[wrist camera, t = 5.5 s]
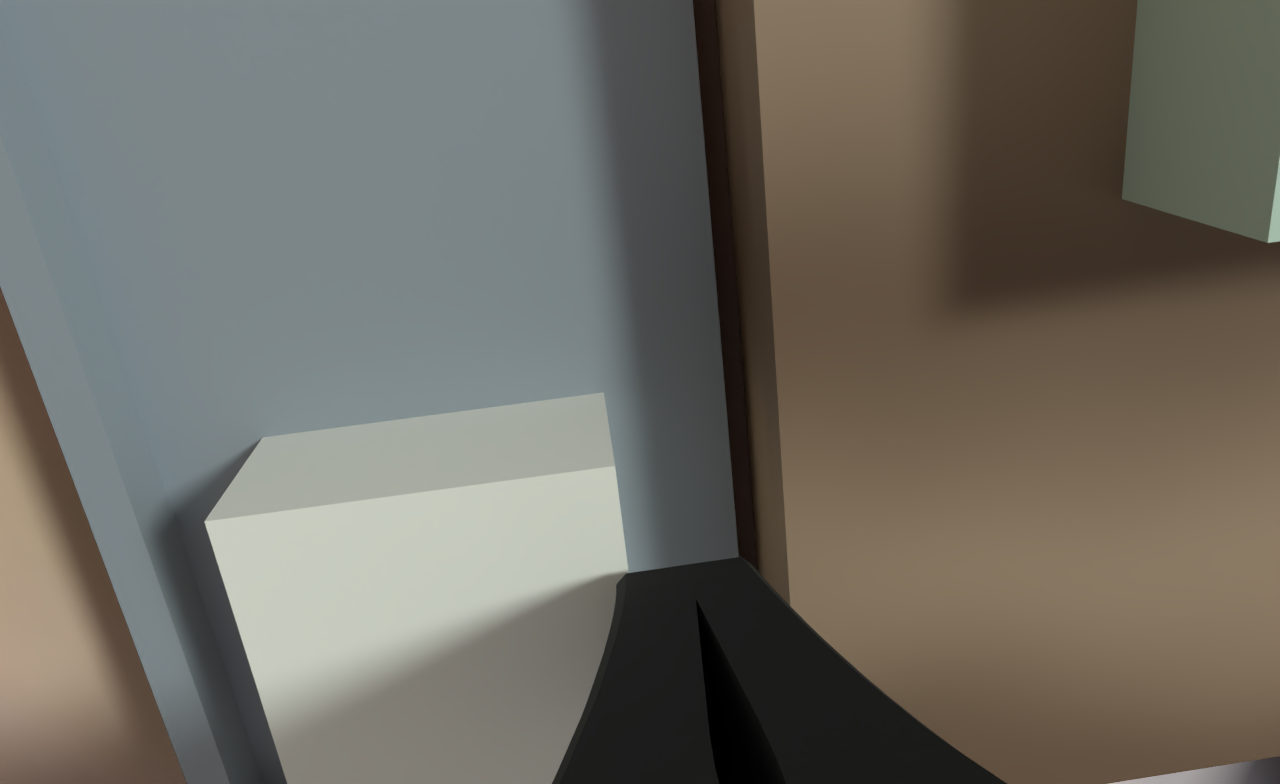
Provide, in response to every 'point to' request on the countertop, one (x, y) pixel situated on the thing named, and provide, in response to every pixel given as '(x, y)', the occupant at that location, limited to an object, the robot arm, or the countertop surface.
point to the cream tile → (426, 590)
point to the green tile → (1207, 113)
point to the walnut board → (1002, 386)
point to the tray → (348, 269)
